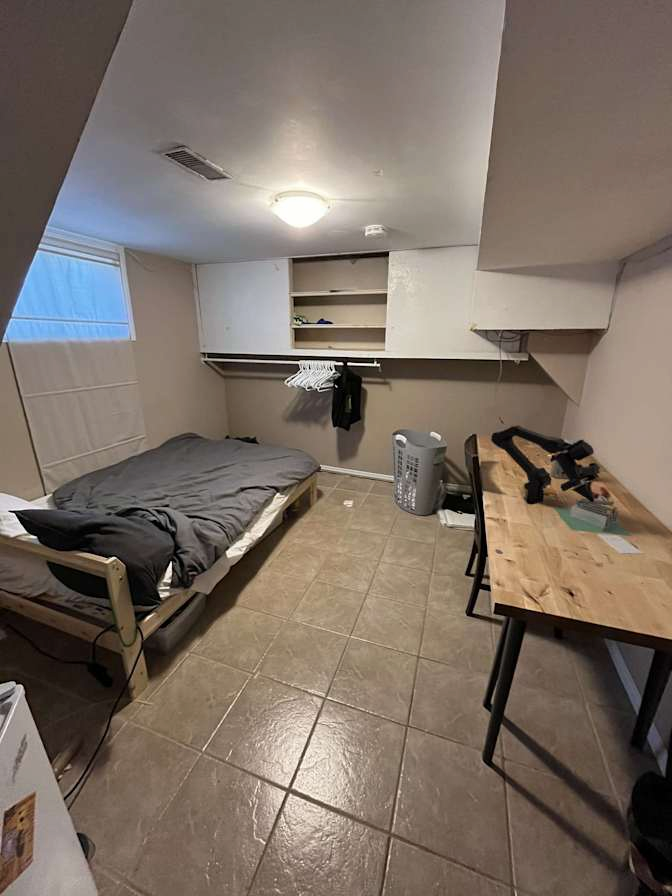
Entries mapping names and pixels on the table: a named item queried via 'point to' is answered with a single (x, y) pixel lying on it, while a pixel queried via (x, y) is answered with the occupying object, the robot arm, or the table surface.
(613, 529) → the green square mat
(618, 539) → the external hard drive
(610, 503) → the dark metal plate
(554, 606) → the table surface
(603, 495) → the pliers
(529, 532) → the table surface
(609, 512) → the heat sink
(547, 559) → the table surface
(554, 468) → the spray can
